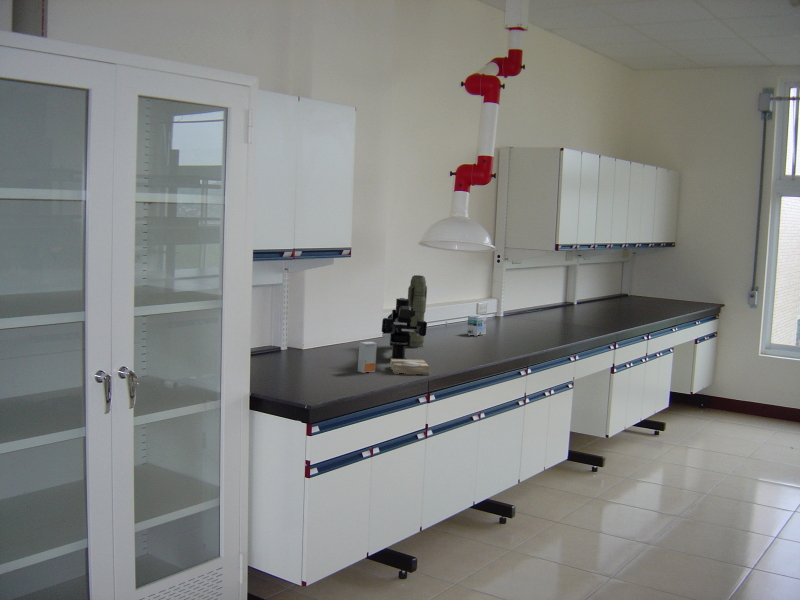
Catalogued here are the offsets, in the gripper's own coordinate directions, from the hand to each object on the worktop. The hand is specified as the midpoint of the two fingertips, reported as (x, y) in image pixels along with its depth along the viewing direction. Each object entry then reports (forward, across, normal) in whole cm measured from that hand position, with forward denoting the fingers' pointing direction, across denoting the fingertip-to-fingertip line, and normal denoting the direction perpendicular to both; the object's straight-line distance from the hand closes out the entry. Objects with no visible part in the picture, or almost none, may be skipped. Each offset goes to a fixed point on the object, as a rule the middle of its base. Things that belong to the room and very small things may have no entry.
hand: (406, 331), depth 306 cm
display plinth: (+1, +3, +16) cm, 17 cm away
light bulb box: (-104, +54, +21) cm, 119 cm away
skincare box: (+5, -15, +17) cm, 23 cm away
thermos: (-60, +13, +20) cm, 64 cm away
